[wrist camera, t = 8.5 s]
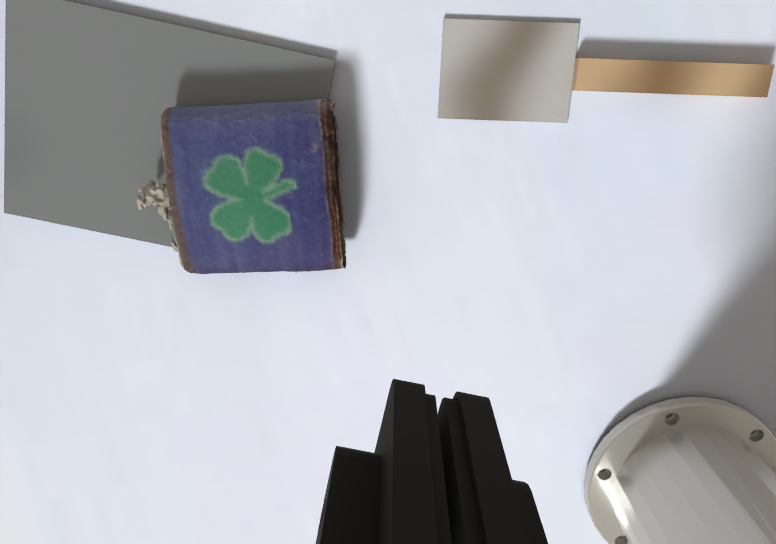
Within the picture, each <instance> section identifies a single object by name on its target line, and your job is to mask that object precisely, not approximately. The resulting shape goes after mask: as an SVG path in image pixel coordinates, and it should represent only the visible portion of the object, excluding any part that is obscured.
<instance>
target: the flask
mask: <svg viewBox="0 0 776 544" xmlns="http://www.w3.org/2000/svg"><path fill="white" fill-rule="evenodd" d="M334 107H335V104H334V103H333V102H332V101H331V100H325V99H319V100H305V101H291V102H262V103H254V104H240V105H218V106H195V107H184V106H176V107H171V108H166V109H165V110H164V112H163V113H162V115H161V123H160V130H161V144H162V148H163V159H164V168H165V175H166V184H161V183H160V182H157V184H156V182H154V181H153V180H148V181H147V183H148V185H146V186H145V187H143V189H142V187H138V191H139V192H142V190H143V194H142V195H143V199H142V197H141V196H139V195H138V196H137V205H138V208H139V209H140V210H143V206H144V208H145V207H146V206H151V205H154V206H157V211H158V214H159V215H161V216H162V218H163V219H164V220H167V221H168V222H169V226H170V229H171V230H172V231H173V232H174V235H175V239H176V243H175V242H174V240H173V238H172V236H170V237H171V243H172V247H173V249H174V250H175V251H179V258H180V264H181V266H182V267H183V268H184V269H185V270H186V271H188V272H190V273H198V274H209V273H239V272H242V273H245V272H274V271H288V272H291V271H320V270H330V269H340V268H346V256H345V254H346V253H345V252H346V250H345V249H346V248H345V246H346V244H345V240H344V235H343V228H344V222H343V215H342V212H343V203H342V202H341V195H340V194H341V172H340V163H339V159H340V158H339V152H338V144H337V142H336V139H338V133H337V129H338V128H337V124H336V118H335V117H334V116H333V108H334Z"/></svg>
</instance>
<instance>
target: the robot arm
mask: <svg viewBox="0 0 776 544" xmlns="http://www.w3.org/2000/svg"><path fill="white" fill-rule="evenodd" d="M584 498H585V501H586V505H587V509H588V512H589V514H590V516H591V519H592V521H593V523H594V525H595V527H596V529H597V530H598V532H599V533H600V534H601V536H602V537H603V539H604V540H605V541H606V542H607V543H608V544H776V438H775V437H774V435H773V434H772V433H771V431H770V430H769V429H768V428H767V427H766V426H765V425H764V424H763V423H762V422H761V421H760V420H759V419H758V418H757V417H756V416H754V415H753V414H751V413H750V412H748V411H747V410H745V409H744V408H742V407H740V406H737V405H735V404H732V403H730V402H727V401H724V400H719V399H714V398H709V397H682V398H675V399H668V400H665V401H662V402H659V403H655V404H652V405H649V406H647V407H645V408H643V409H641V410H639V411H637V412H635V413H633V414H631V415H630V416H628V417H627V418H626V419H624V420H623V421H621V422H620V423H619V424H617V425H616V426H615V427H614V428H613V429H612V430H611V431H610V432H609V433H608V434H607V435H606V436H605V437H604V438H603V439H602V441H601V442H600V444H599V445H598V447H597V448H596V450H595V451H594V453H593V455H592V457H591V460H590V462H589V464H588V466H587V470H586V475H585V480H584ZM316 544H548V542H547V539H546V535H545V532H544V529H543V526H542V523H541V520H540V517H539V513H538V510H537V507H536V504H535V501H534V498H533V495H532V491H531V489H530V487H529V485H528V484H527V483H525V482H521V481H516V480H512V478H511V474H510V471H509V467H508V464H507V460H506V456H505V453H504V449H503V446H502V442H501V438H500V435H499V431H498V428H497V424H496V421H495V417H494V413H493V410H492V406H491V403H490V400H489V398H487V397H482V396H477V395H472V394H467V393H462V392H456V393H455V395H454V397H453V399H450V398H445V397H444V398H443V399H442V402H441V405H440V408H439V412H438V415H437V407H436V398H435V396H434V395H429V394H425V386H424V385H422V384H417V383H412V382H407V381H402V380H397V379H393V381H392V383H391V387H390V391H389V395H388V399H387V403H386V407H385V411H384V415H383V420H382V424H381V428H380V432H379V436H378V440H377V445H376V449H375V453H371V452H365V451H360V450H355V449H350V448H345V447H340V446H336V448H335V452H334V457H333V461H332V466H331V471H330V475H329V480H328V484H327V489H326V494H325V499H324V504H323V509H322V514H321V519H320V524H319V529H318V535H317V540H316Z"/></svg>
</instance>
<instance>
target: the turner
mask: <svg viewBox="0 0 776 544" xmlns="http://www.w3.org/2000/svg"><path fill="white" fill-rule="evenodd" d="M579 24H580V23H560V22H532V21H503V20H475V19H446V18H444V19H443V36H442V53H441V71H440V88H439V105H438V118H446V119H474V120H502V121H530V122H558V123H567V120H568V112H569V104H570V96H571V90H576V91H604V92H633V93H661V94H689V95H717V96H746V97H767V95H768V90H769V86H770V82H771V77H772V73H773V68H774V65H766V64H738V63H710V62H681V61H653V60H624V59H596V58H575V56H576V48H577V40H578V32H579Z"/></svg>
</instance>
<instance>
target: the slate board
mask: <svg viewBox="0 0 776 544" xmlns="http://www.w3.org/2000/svg"><path fill="white" fill-rule="evenodd" d="M334 61H335V60H332V59H327V58H323V57H318V56H314V55H309V54H305V53H300V52H296V51H291V50H287V49H282V48H278V47H273V46H269V45H264V44H260V43H256V42H251V41H247V40H242V39H238V38H233V37H229V36H224V35H220V34H215V33H211V32H206V31H202V30H197V29H193V28H188V27H184V26H179V25H175V24H170V23H166V22H161V21H157V20H152V19H148V18H143V17H139V16H134V15H130V14H125V13H121V12H116V11H112V10H107V9H103V8H98V7H94V6H89V5H85V4H80V3H76V2H71V1H67V0H6V40H5V171H4V213H8V214H13V215H18V216H23V217H28V218H33V219H38V220H42V221H47V222H52V223H57V224H62V225H67V226H72V227H77V228H82V229H87V230H92V231H97V232H101V233H106V234H111V235H116V236H121V237H126V238H131V239H136V240H141V241H146V242H151V243H156V244H160V245H165V246H170V247H172V243H171V237H170V236H172V238H173V240H174V242H175V243H176V239H175V235H174V232H173V231H172V230H171V229H170V226H169V222H168V221H167V220H164V219H163V218H162V216H161V215H159V214H158V211H157V206H154V205H151V206H146V207H145V208H144V206H143V210H140V209H139V208H138V205H137V196H138V195H139V196H141V197H142V199H143V195H142V194H143V190H142V192H139V191H138V187H142V189H143V187H145V186H146V185H148V183H147V181H148V180H153V181H154V182H156V184H157V182H160V183H161V184H166V175H165V168H164V159H163V148H162V144H161V130H160V123H161V115H162V113H163V112H164V110H165V109H166V108H171V107H176V106H184V107H195V106H218V105H240V104H254V103H262V102H291V101H305V100H319V99H325V100H328V95H329V90H330V84H331V78H332V72H333V66H334ZM293 272H298V271H293Z"/></svg>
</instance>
